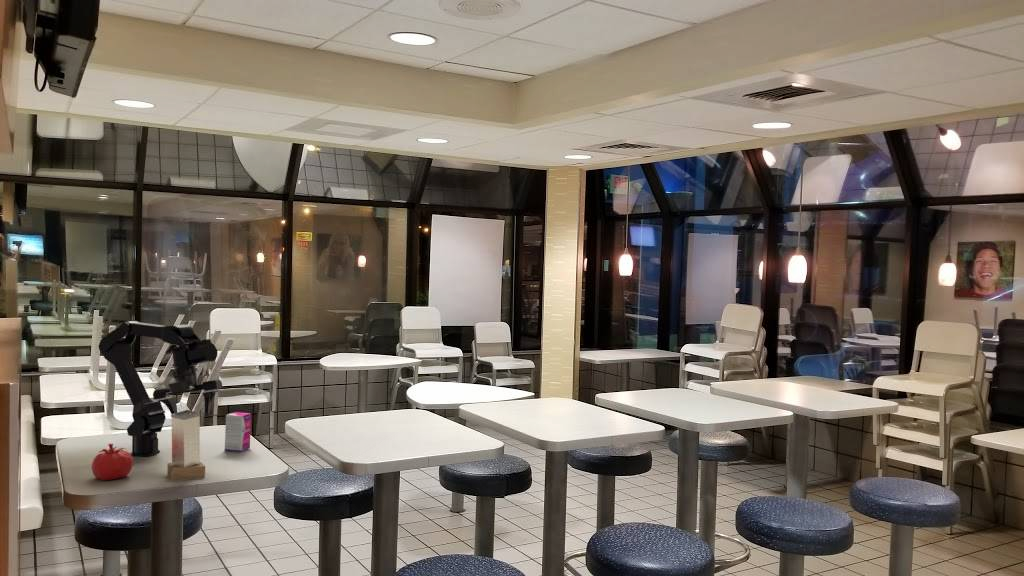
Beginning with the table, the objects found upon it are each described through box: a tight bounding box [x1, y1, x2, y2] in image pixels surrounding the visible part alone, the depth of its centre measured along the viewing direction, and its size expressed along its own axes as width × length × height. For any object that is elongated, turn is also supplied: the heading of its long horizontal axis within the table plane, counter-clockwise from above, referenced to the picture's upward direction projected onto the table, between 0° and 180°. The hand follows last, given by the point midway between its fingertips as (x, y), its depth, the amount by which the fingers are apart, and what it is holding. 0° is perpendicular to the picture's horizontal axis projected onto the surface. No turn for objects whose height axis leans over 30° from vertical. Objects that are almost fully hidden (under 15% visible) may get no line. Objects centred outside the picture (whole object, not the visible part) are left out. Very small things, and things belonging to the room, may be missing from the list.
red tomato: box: [91, 443, 134, 481], centre depth 210 cm, size 10×10×9 cm
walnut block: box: [166, 461, 206, 482], centre depth 214 cm, size 8×8×4 cm
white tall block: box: [170, 409, 201, 468], centre depth 212 cm, size 5×5×14 cm
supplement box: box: [224, 411, 252, 453], centre depth 245 cm, size 6×6×12 cm
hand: (192, 418), depth 232 cm, fingers open, 9 cm apart
